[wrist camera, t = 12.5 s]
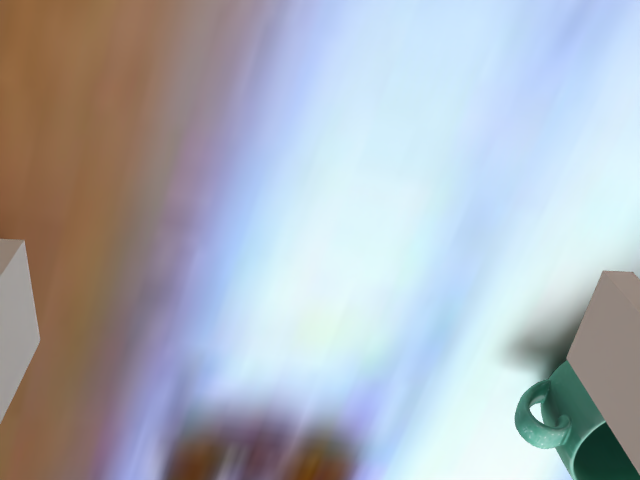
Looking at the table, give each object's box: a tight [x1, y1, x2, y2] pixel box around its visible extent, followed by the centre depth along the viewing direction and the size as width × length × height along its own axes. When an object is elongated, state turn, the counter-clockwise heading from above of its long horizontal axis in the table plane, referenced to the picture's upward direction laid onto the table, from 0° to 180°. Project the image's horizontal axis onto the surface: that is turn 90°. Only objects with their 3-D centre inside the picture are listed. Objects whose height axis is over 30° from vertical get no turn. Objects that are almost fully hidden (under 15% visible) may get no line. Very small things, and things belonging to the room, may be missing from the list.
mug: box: [515, 360, 640, 480], centre depth 55 cm, size 17×13×10 cm
